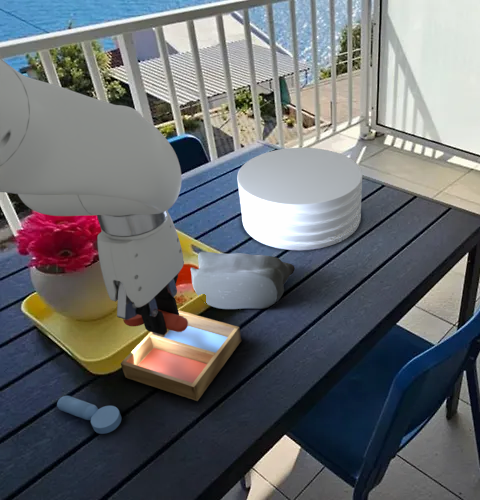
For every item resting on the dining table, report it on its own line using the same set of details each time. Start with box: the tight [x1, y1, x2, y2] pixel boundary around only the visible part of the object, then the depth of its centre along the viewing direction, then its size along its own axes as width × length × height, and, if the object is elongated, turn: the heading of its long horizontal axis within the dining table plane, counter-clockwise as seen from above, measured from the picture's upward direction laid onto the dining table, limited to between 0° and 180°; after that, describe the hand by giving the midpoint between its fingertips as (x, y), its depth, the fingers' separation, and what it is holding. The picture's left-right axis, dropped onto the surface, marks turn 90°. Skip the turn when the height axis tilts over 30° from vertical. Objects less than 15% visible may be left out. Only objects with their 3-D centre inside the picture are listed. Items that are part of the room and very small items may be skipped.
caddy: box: [120, 309, 242, 402], centre depth 81 cm, size 13×13×3 cm
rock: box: [190, 251, 296, 310], centre depth 94 cm, size 18×11×8 cm, turn 89°
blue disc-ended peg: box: [56, 395, 122, 435], centre depth 72 cm, size 10×4×2 cm, turn 71°
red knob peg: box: [122, 304, 188, 332], centre depth 70 cm, size 10×4×2 cm, turn 71°
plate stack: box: [236, 147, 363, 251], centre depth 116 cm, size 28×28×12 cm
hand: (163, 323), depth 70 cm, fingers closed on red knob peg, 2 cm apart
